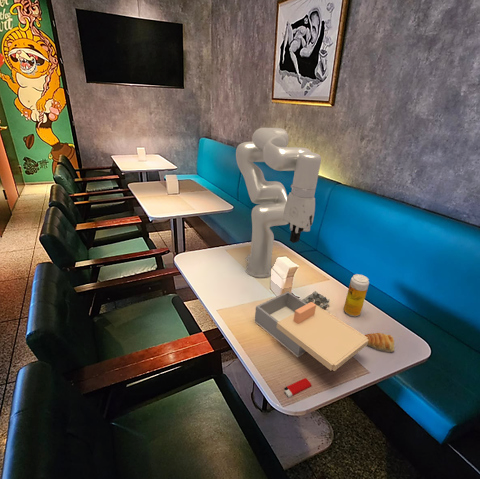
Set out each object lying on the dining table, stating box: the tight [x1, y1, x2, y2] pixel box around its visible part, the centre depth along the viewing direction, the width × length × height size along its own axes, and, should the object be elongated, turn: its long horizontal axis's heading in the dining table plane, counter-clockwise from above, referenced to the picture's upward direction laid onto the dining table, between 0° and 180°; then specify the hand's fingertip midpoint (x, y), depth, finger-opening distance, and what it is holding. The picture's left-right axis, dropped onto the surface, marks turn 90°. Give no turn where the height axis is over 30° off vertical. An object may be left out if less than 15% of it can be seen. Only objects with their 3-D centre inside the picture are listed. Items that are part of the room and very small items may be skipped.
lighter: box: [283, 377, 313, 398], centre depth 82 cm, size 3×1×8 cm
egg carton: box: [301, 290, 331, 310], centre depth 115 cm, size 11×8×4 cm
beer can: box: [343, 273, 370, 317], centre depth 111 cm, size 6×6×15 cm
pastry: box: [364, 332, 395, 353], centre depth 99 cm, size 9×7×4 cm
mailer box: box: [254, 291, 308, 358], centre depth 102 cm, size 20×16×6 cm
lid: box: [276, 302, 369, 372], centre depth 92 cm, size 21×18×6 cm
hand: (294, 241), depth 107 cm, fingers closed
